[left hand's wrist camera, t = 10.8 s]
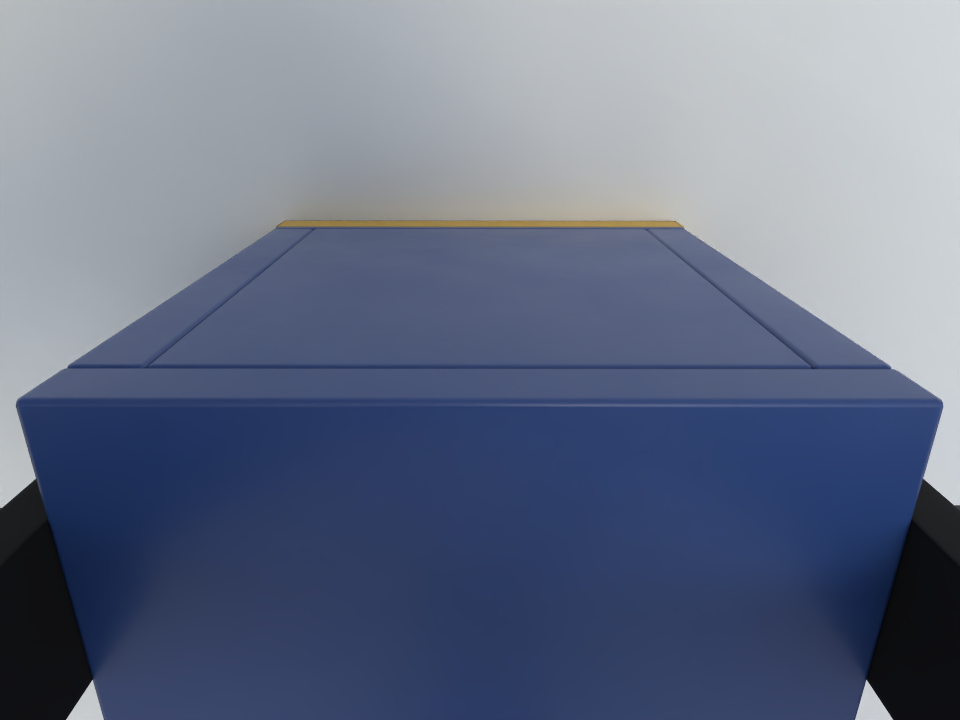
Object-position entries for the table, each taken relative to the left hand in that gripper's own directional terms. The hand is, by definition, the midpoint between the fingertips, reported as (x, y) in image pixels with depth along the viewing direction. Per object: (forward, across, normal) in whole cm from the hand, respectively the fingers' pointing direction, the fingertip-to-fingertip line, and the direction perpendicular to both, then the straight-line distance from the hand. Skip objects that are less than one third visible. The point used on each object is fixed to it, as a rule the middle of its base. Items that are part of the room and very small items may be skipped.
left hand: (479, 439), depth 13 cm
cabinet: (+7, 0, +6) cm, 10 cm away
